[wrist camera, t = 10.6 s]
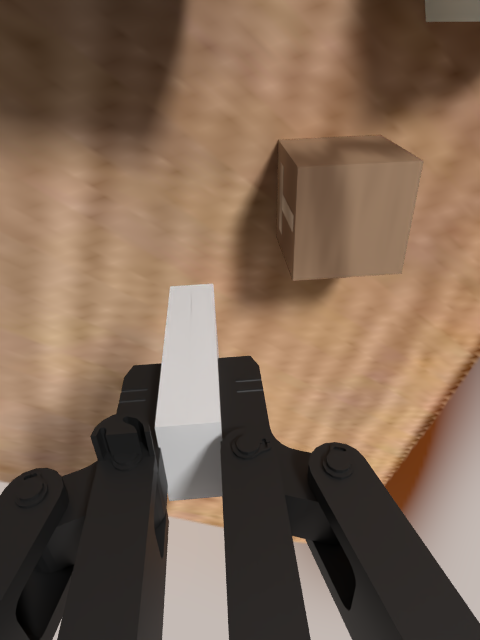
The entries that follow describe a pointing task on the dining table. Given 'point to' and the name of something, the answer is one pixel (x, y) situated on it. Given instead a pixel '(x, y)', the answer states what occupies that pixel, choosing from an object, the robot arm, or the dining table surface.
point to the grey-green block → (452, 10)
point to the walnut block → (345, 205)
